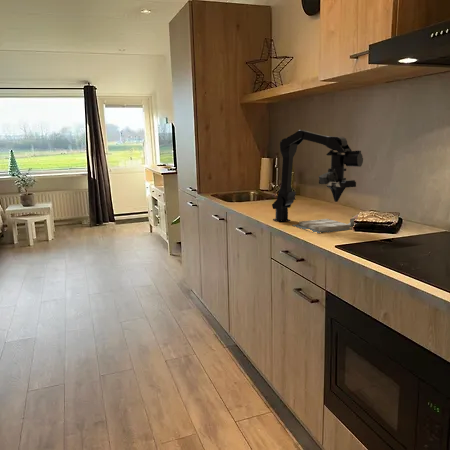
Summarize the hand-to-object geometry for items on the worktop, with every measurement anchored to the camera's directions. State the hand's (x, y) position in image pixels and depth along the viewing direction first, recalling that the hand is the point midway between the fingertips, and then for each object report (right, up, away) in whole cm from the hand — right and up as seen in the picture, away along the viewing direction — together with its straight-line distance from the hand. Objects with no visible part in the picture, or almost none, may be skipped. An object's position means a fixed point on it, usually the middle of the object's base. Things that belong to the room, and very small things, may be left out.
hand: (336, 201), depth 185 cm
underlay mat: (-6, -11, +4) cm, 13 cm away
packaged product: (+14, -11, +10) cm, 21 cm away
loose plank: (-7, -11, +4) cm, 14 cm away
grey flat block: (0, -11, +7) cm, 13 cm away
